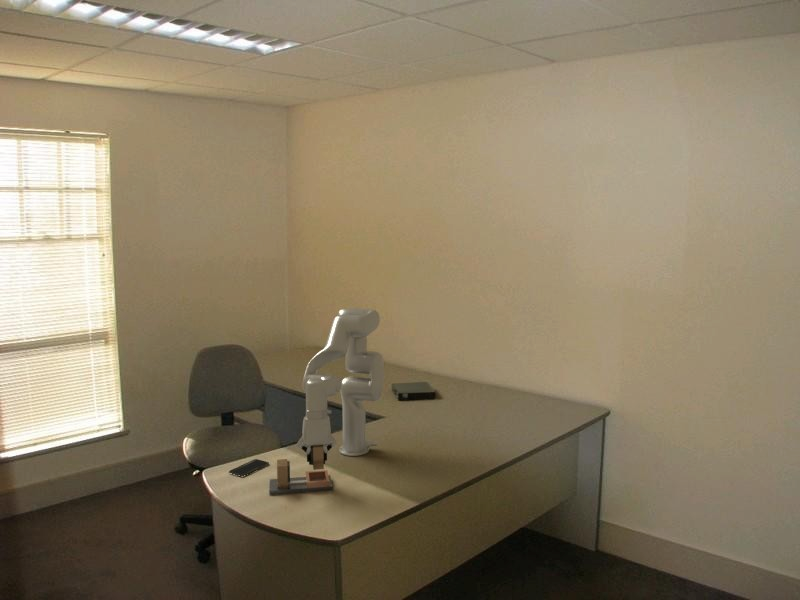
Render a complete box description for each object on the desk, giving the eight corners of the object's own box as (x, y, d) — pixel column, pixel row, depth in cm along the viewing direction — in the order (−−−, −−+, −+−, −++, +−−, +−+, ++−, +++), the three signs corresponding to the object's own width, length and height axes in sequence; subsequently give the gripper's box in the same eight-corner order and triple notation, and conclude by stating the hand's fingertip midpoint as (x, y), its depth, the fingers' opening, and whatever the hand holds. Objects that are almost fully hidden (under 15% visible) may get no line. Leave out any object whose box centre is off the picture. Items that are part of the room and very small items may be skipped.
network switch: (387, 391, 352) (387, 383, 351) (426, 388, 359) (426, 380, 358) (399, 403, 330) (399, 394, 329) (440, 399, 337) (440, 390, 336)
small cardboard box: (323, 469, 221) (323, 447, 220) (311, 469, 221) (311, 448, 220) (322, 462, 228) (322, 441, 227) (310, 463, 227) (310, 442, 226)
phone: (227, 471, 236) (255, 458, 248) (227, 474, 236) (255, 461, 249) (242, 476, 232) (270, 462, 244) (243, 478, 232) (270, 465, 245)
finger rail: (330, 478, 231) (330, 454, 230) (332, 490, 221) (332, 464, 220) (269, 483, 227) (269, 458, 226) (269, 495, 217) (268, 469, 216)
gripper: (339, 409, 227) (339, 457, 229) (292, 411, 224) (293, 460, 226) (341, 415, 220) (341, 465, 222) (292, 418, 217) (293, 468, 219)
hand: (316, 462), depth 224 cm, fingers closed on small cardboard box, 4 cm apart
